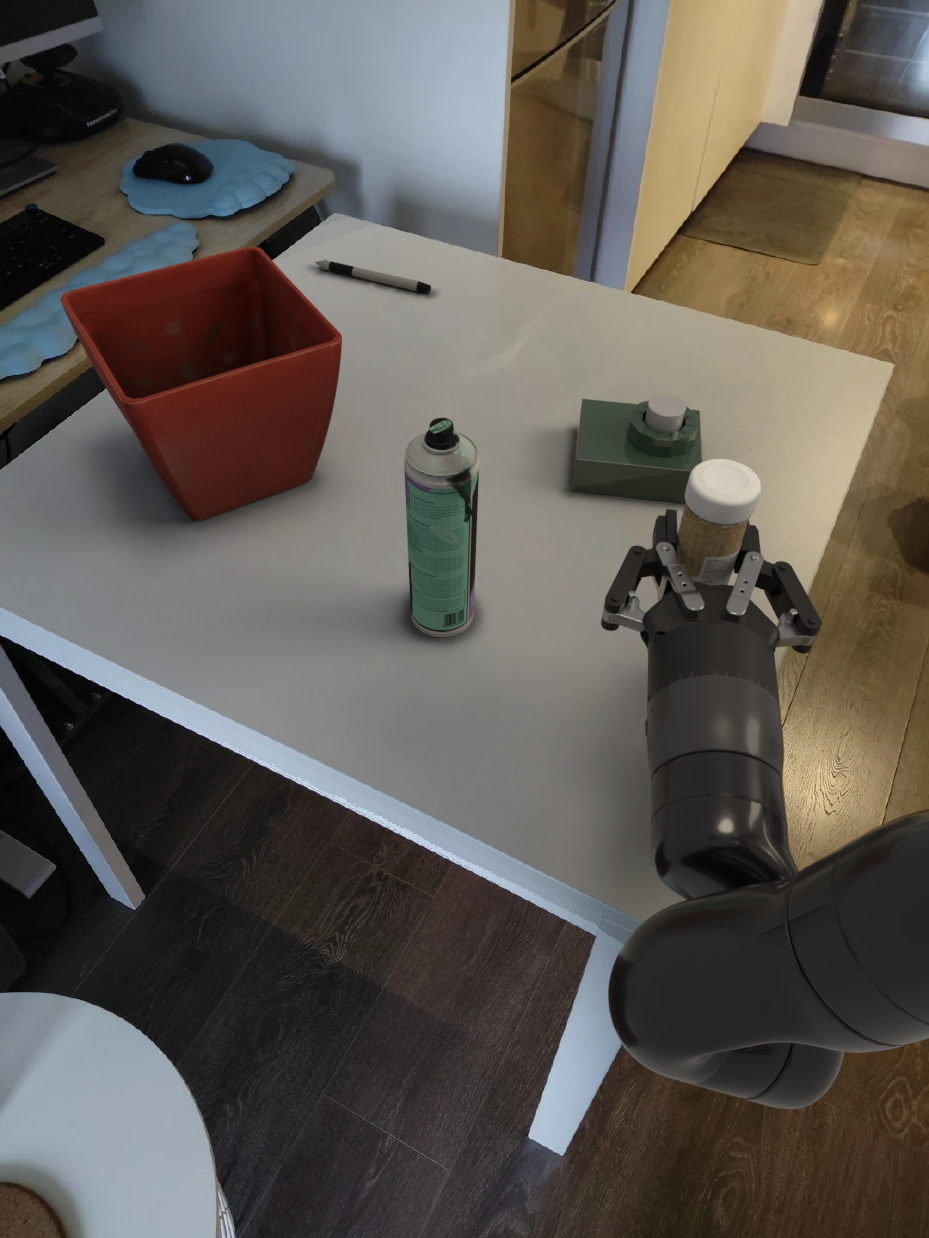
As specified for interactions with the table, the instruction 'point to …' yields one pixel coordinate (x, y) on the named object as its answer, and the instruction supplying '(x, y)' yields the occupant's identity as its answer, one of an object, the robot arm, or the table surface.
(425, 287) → the pen
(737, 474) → the sprinkles bottle
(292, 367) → the flower pot
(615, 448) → the push button box
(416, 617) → the spray can
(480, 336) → the table surface
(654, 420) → the grey short cylinder
